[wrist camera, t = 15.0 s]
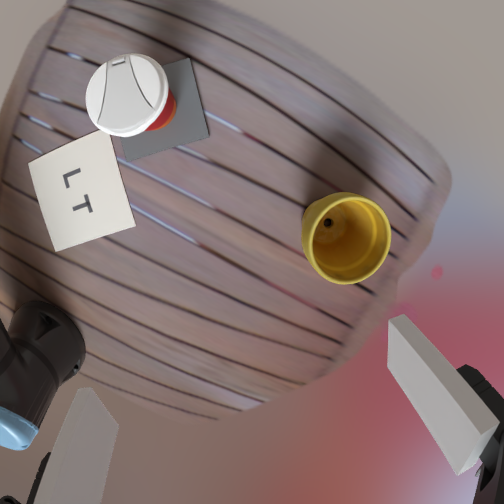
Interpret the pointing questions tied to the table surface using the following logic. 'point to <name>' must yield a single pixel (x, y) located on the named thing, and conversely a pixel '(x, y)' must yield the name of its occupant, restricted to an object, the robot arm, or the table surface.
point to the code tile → (81, 191)
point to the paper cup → (130, 96)
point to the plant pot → (345, 237)
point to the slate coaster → (183, 123)
